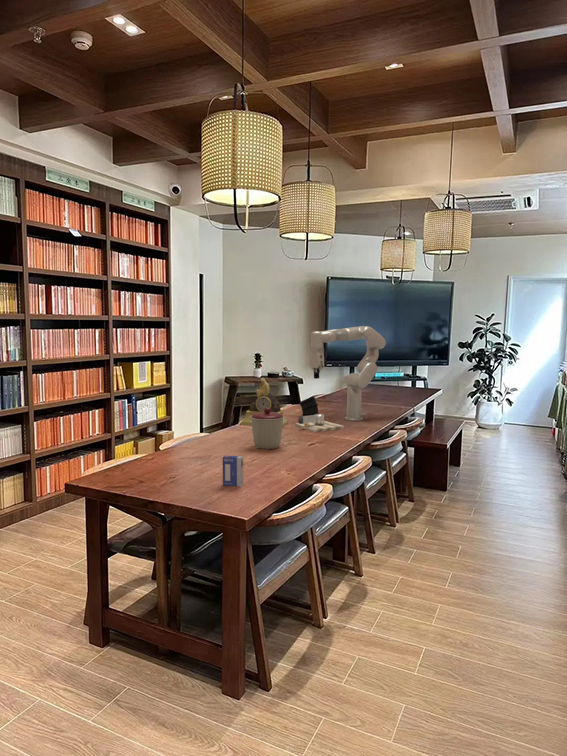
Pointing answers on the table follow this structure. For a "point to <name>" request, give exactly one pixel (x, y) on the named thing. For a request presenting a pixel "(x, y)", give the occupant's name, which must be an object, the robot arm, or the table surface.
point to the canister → (267, 429)
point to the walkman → (233, 471)
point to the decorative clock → (263, 404)
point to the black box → (309, 406)
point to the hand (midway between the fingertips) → (316, 378)
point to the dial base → (319, 426)
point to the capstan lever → (312, 419)
